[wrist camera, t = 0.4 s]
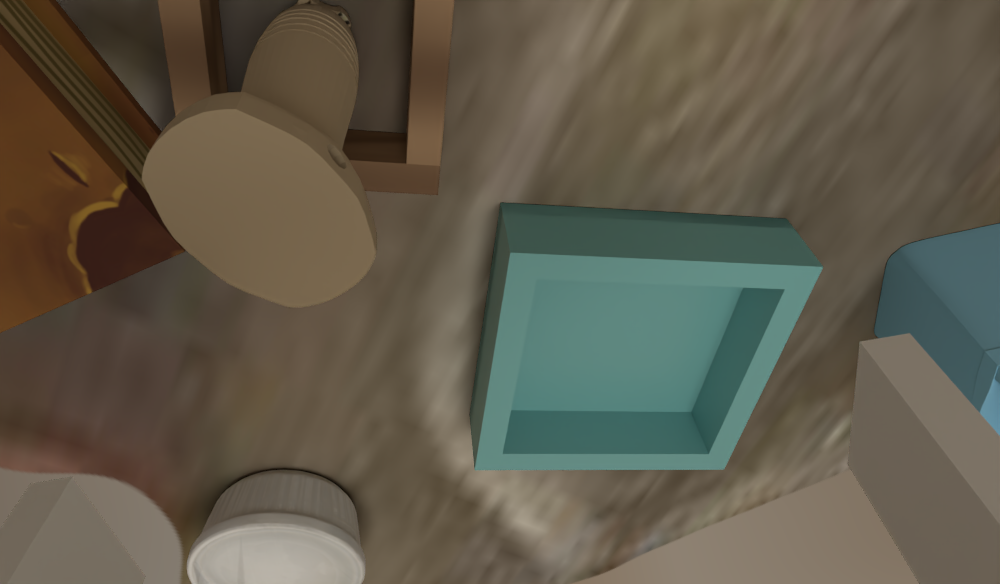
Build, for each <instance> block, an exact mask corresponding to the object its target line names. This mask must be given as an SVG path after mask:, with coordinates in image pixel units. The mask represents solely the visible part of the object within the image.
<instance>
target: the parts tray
mask: <svg viewBox="0 0 1000 584" xmlns="http://www.w3.org/2000/svg"><path fill="white" fill-rule="evenodd" d="M822 268H823V266H822V265H821V263H820V262H819V261H818V259H817V258H816V257H815V255H814V254H813V253H812V251H811V250H810V249H809V248H808V246H807V245H806V244H805V242H804V241H803V240H802V238H801V237H800V236H799V234H798V233H797V232H796V230H795V229H794V228H793V227H792V225H791V224H790V223H789V221H788V220H787V219H782V218H764V217H746V216H728V215H711V214H693V213H675V212H657V211H640V210H622V209H604V208H587V207H569V206H551V205H533V204H516V203H500V210H499V217H498V224H497V230H496V237H495V244H494V251H493V258H492V265H491V271H490V278H489V285H488V292H487V299H486V306H485V312H484V319H483V326H482V333H481V340H480V346H479V353H478V360H477V367H476V374H475V381H474V387H473V394H472V401H471V408H470V424H471V435H472V446H473V457H474V467H475V470H719V469H724V468H725V466H726V464H727V462H728V460H729V458H730V456H731V454H732V452H733V450H734V448H735V446H736V444H737V442H738V440H739V438H740V436H741V434H742V432H743V430H744V427H745V425H746V423H747V421H748V419H749V417H750V415H751V413H752V411H753V409H754V407H755V405H756V403H757V401H758V399H759V397H760V395H761V393H762V391H763V389H764V387H765V385H766V383H767V381H768V379H769V377H770V374H771V372H772V370H773V368H774V366H775V364H776V362H777V360H778V358H779V356H780V354H781V352H782V350H783V348H784V346H785V344H786V342H787V340H788V338H789V336H790V334H791V332H792V330H793V328H794V326H795V324H796V321H797V319H798V317H799V315H800V313H801V311H802V309H803V307H804V305H805V303H806V301H807V299H808V297H809V295H810V293H811V291H812V289H813V287H814V285H815V283H816V281H817V279H818V277H819V275H820V273H821V271H822Z"/></svg>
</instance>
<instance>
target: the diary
mask: <svg viewBox="0 0 1000 584" xmlns="http://www.w3.org/2000/svg"><path fill="white" fill-rule="evenodd" d="M161 133H162V132H161V131H160V129H159V128H158V127H157V126H156V124H155V123H154V122H153V121H152V119H151V118H150V117H149V116H148V114H147V113H146V112H145V111H144V109H143V108H142V107H141V106H140V105H139V103H138V102H137V101H136V100H135V98H134V97H133V96H132V95H131V93H130V92H129V91H128V90H127V88H126V87H125V86H124V85H123V83H122V82H121V81H120V80H119V78H118V77H117V76H116V75H115V73H114V72H113V71H112V70H111V68H110V67H109V66H108V65H107V63H106V62H105V61H104V60H103V58H102V57H101V56H100V55H99V54H98V52H97V51H96V50H95V49H94V47H93V46H92V45H91V44H90V42H89V41H88V40H87V39H86V37H85V36H84V35H83V34H82V32H81V31H80V30H79V29H78V27H77V26H76V25H75V24H74V22H73V21H72V20H71V19H70V17H69V16H68V15H67V14H66V12H65V11H64V10H63V9H62V7H61V6H60V5H59V4H58V3H57V1H56V0H0V333H1V332H3V331H6V330H8V329H10V328H12V327H15V326H17V325H19V324H22V323H24V322H26V321H28V320H31V319H33V318H35V317H37V316H40V315H42V314H44V313H46V312H49V311H51V310H53V309H56V308H58V307H60V306H62V305H65V304H67V303H69V302H71V301H74V300H76V299H78V298H81V297H83V296H85V295H87V294H90V293H92V292H94V291H96V290H99V289H101V288H103V287H105V286H108V285H110V284H112V283H115V282H117V281H119V280H121V279H124V278H126V277H128V276H130V275H133V274H135V273H137V272H139V271H142V270H144V269H146V268H149V267H151V266H153V265H155V264H158V263H160V262H162V261H164V260H167V259H169V258H171V257H173V256H176V255H178V254H180V253H183V252H184V251H185V249H184V248H183V247H182V246H181V245H180V244H179V243H178V242H177V241H176V240H175V239H174V238H173V236H172V235H171V233H170V232H169V230H168V229H167V227H166V226H165V224H164V223H163V221H162V219H161V217H160V215H159V213H158V212H157V210H156V208H155V206H154V204H153V202H152V200H151V198H150V196H149V194H148V191H147V189H146V187H145V185H144V183H143V181H142V173H143V167H144V164H145V161H146V158H147V155H148V153H149V151H150V150H151V148H152V146H153V145H154V143H155V141H156V140H157V138H158V137H159V135H160V134H161Z"/></svg>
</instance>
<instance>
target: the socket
mask: <svg viewBox="0 0 1000 584" xmlns="http://www.w3.org/2000/svg"><path fill="white" fill-rule="evenodd" d="M158 6H159V13H160V19H161V26H162V32H163V38H164V45H165V51H166V58H167V64H168V70H169V77H170V83H171V90H172V96H173V103H174V109H175V115H176V116H177V115H178V114H179V113H180V112H181V111H183V110H184V109H186V108H188V107H189V106H191V105H192V104H194V103H196V102H197V101H199V100H202V99H205V98H207V97H210V96H212V95H215V94H221V93H228V88H227V79H226V69H225V60H224V50H223V41H222V32H221V22H220V13H219V4H218V0H158ZM453 9H454V0H413V15H412V35H411V54H410V74H409V93H408V112H407V132H406V134H404V133H390V132H375V131H361V130H347V133H346V137H345V140H344V144H343V148H342V151H343V152H344V154H345V155H346V156H347V158H348V159H349V161H350V163H351V165H352V166H353V168H354V170H355V171H356V173H357V175H358V176H359V178H360V180H361V183H362V185H363V188H364V190H365V191H377V192H394V193H412V194H429V195H438V186H439V174H440V163H441V151H442V139H443V127H444V115H445V104H446V92H447V80H448V68H449V56H450V45H451V33H452V21H453Z"/></svg>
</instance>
